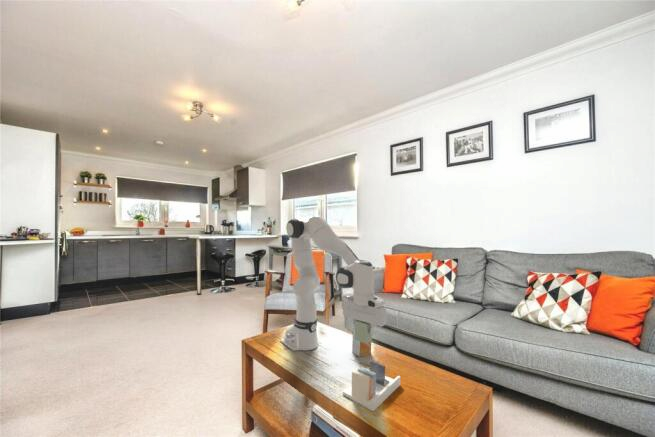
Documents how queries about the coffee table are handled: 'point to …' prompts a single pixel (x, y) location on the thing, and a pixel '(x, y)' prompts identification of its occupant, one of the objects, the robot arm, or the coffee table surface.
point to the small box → (360, 347)
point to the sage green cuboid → (362, 332)
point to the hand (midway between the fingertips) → (363, 331)
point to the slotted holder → (371, 386)
